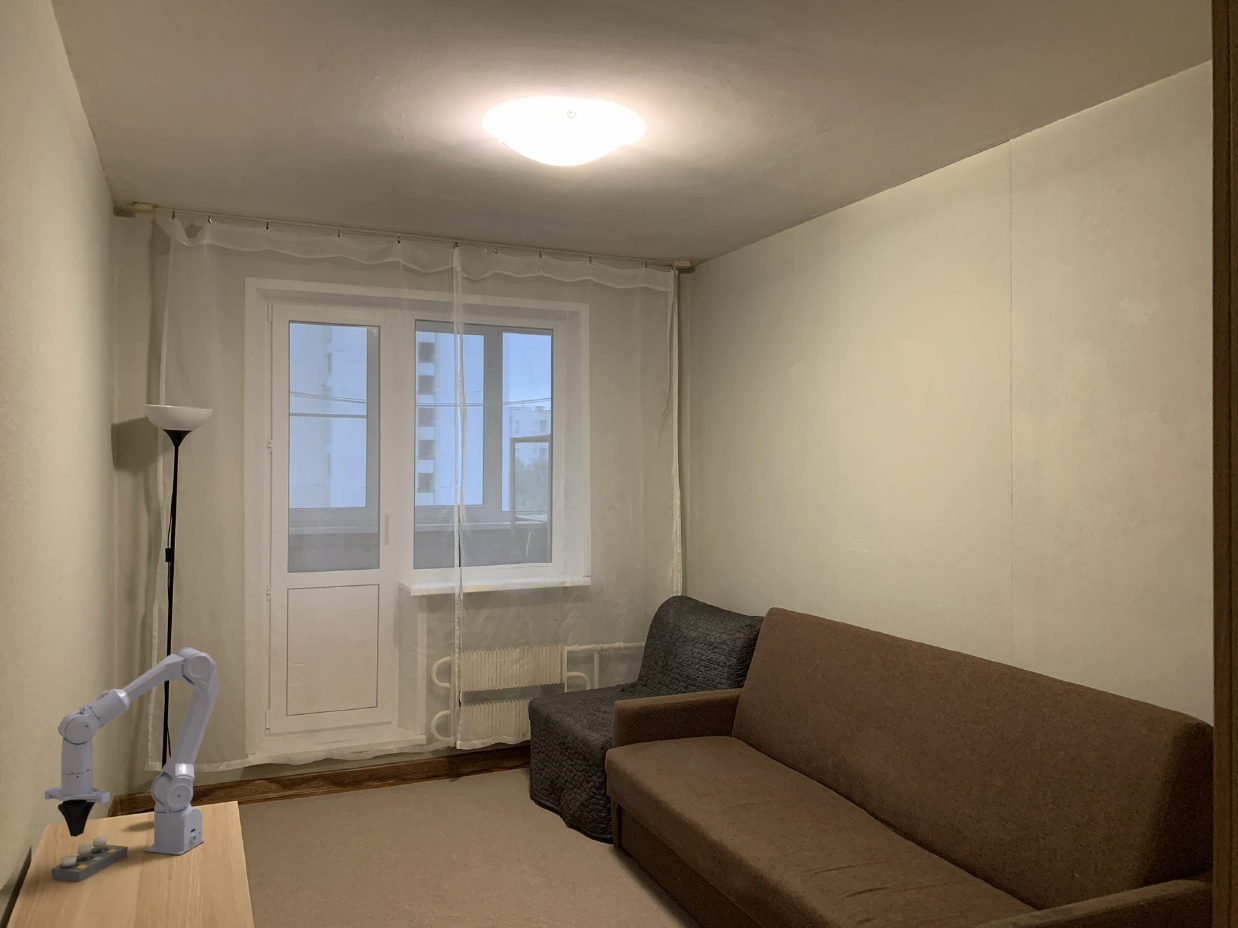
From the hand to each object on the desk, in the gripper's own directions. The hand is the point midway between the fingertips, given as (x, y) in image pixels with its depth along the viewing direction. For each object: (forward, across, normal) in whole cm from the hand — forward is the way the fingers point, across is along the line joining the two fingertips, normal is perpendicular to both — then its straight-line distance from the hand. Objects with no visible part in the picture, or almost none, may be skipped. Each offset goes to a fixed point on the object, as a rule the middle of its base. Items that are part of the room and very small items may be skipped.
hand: (77, 834), depth 187 cm
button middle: (+4, 0, +2) cm, 5 cm away
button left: (+5, 0, -2) cm, 6 cm away
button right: (+4, 0, +6) cm, 8 cm away
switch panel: (+8, +1, +3) cm, 8 cm away
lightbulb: (+8, -1, +28) cm, 29 cm away
